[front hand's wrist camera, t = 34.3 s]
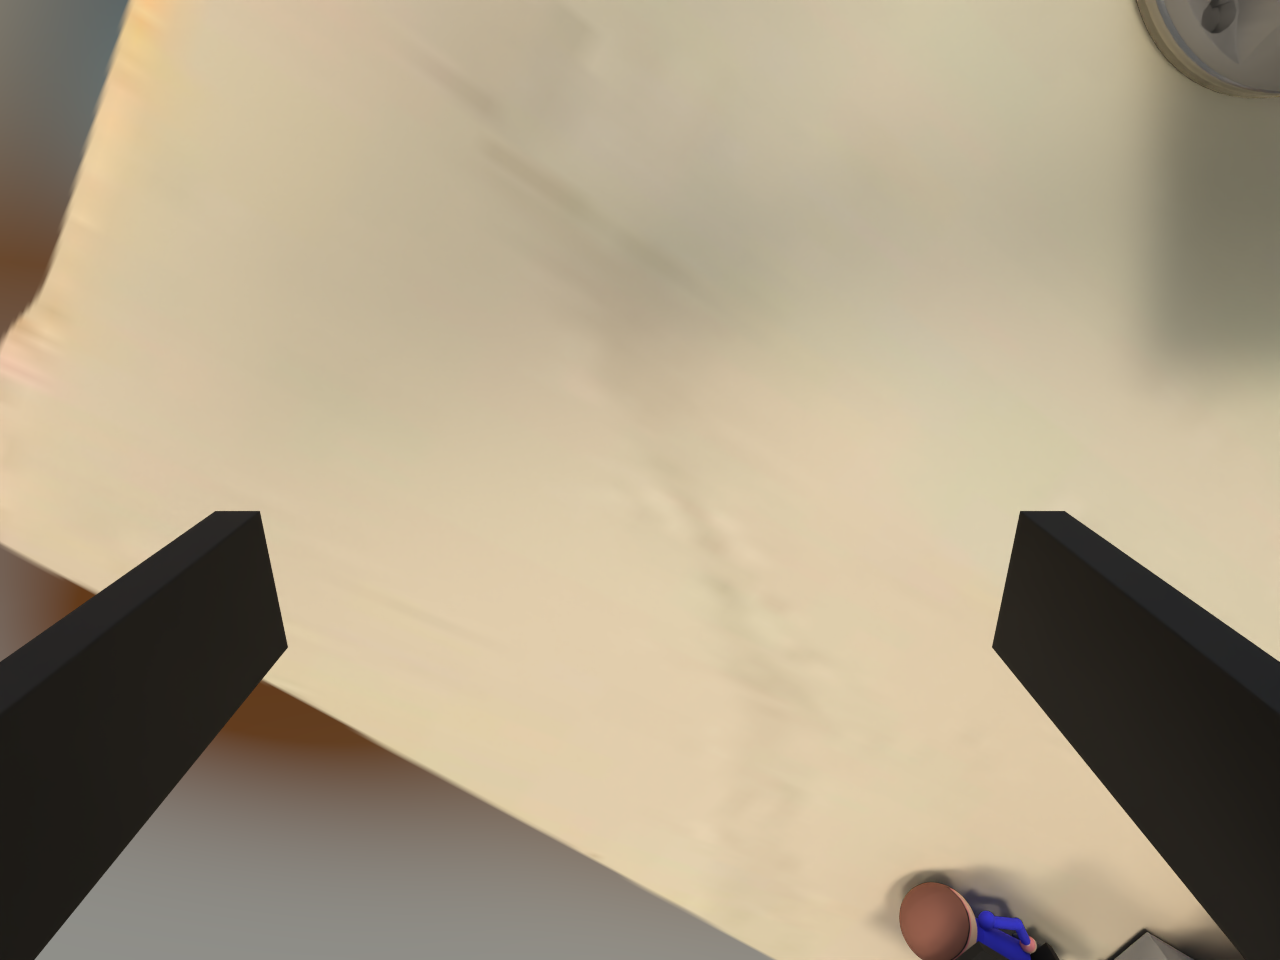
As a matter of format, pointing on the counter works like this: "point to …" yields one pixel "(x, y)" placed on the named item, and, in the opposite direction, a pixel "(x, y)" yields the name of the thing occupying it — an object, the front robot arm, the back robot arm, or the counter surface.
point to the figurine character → (962, 929)
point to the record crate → (1151, 950)
